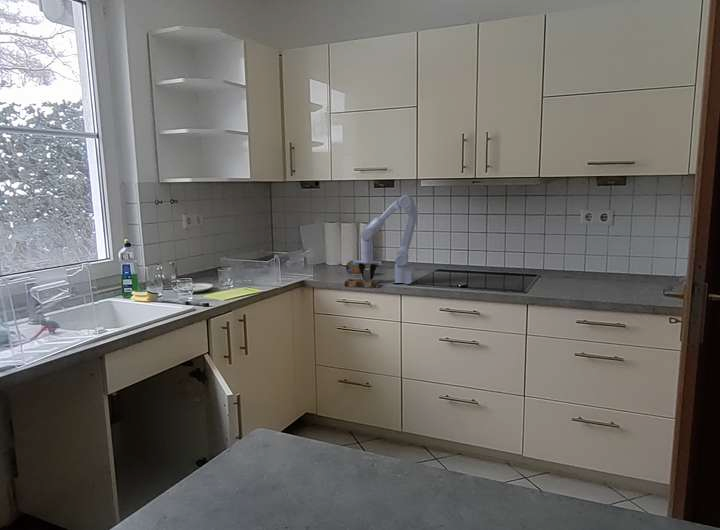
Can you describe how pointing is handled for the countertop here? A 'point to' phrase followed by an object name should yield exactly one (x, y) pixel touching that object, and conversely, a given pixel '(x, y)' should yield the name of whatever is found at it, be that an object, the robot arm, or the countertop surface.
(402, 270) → the robot arm
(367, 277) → the plug
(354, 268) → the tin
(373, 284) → the brown flat block
